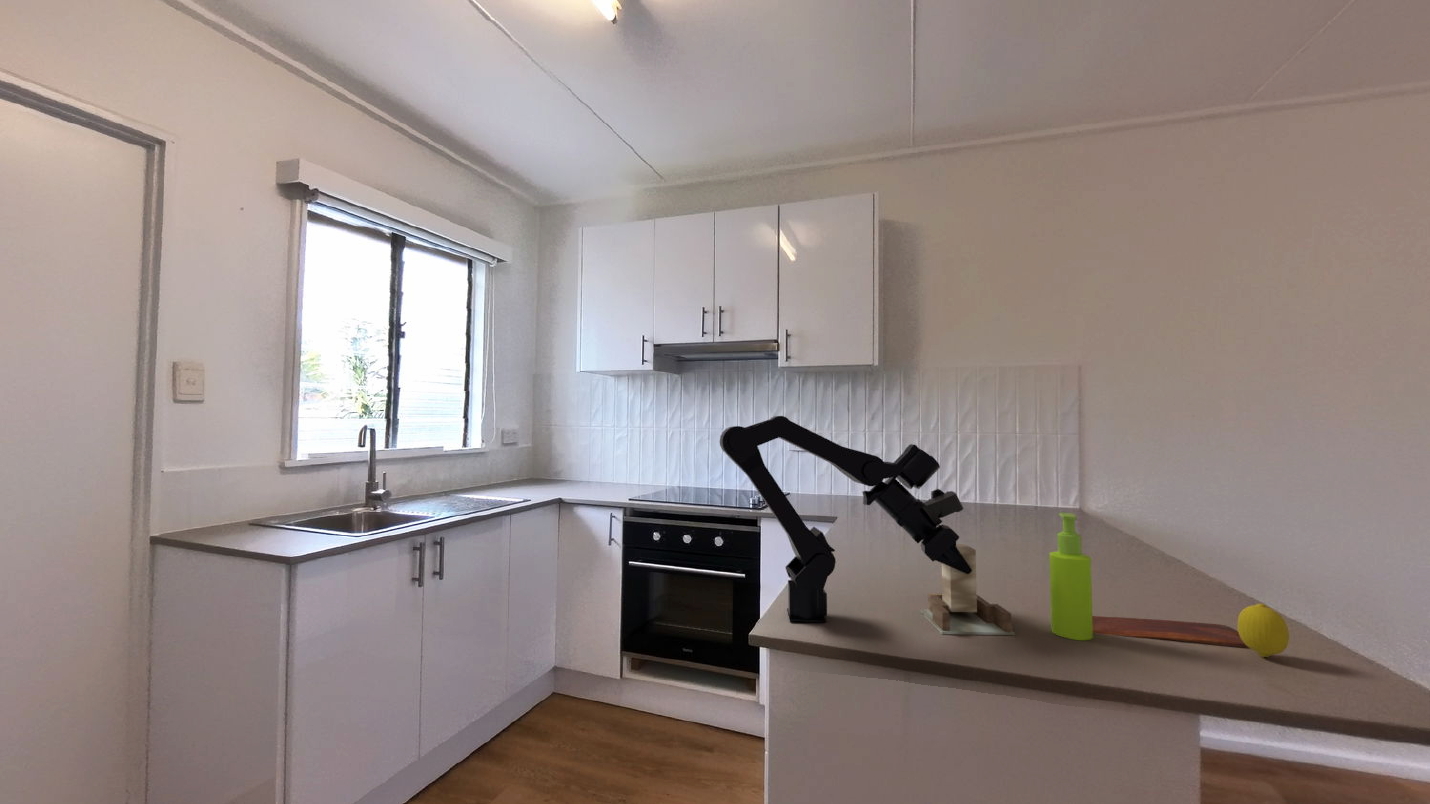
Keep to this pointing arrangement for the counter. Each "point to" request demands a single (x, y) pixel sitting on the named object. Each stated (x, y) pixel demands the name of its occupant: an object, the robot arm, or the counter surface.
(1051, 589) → the soap dispenser
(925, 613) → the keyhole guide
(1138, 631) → the wooden tablet
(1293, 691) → the counter surface
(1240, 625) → the lemon
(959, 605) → the birch post
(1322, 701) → the counter surface
